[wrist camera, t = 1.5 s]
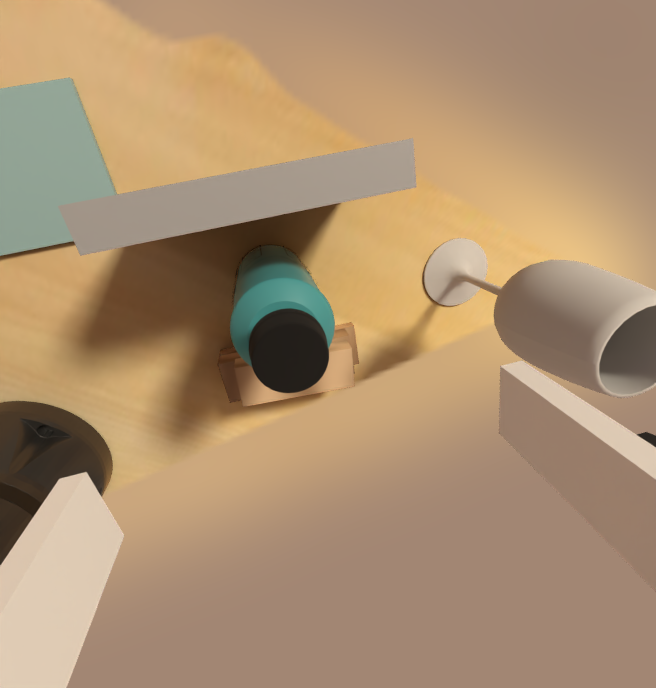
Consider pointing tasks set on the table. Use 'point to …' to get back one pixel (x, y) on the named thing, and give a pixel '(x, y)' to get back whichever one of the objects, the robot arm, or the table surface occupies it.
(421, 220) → the table surface
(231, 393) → the offcut middle
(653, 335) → the wineglass
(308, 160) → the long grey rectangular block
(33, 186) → the mat
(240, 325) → the beverage bottle
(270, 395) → the offcut top
